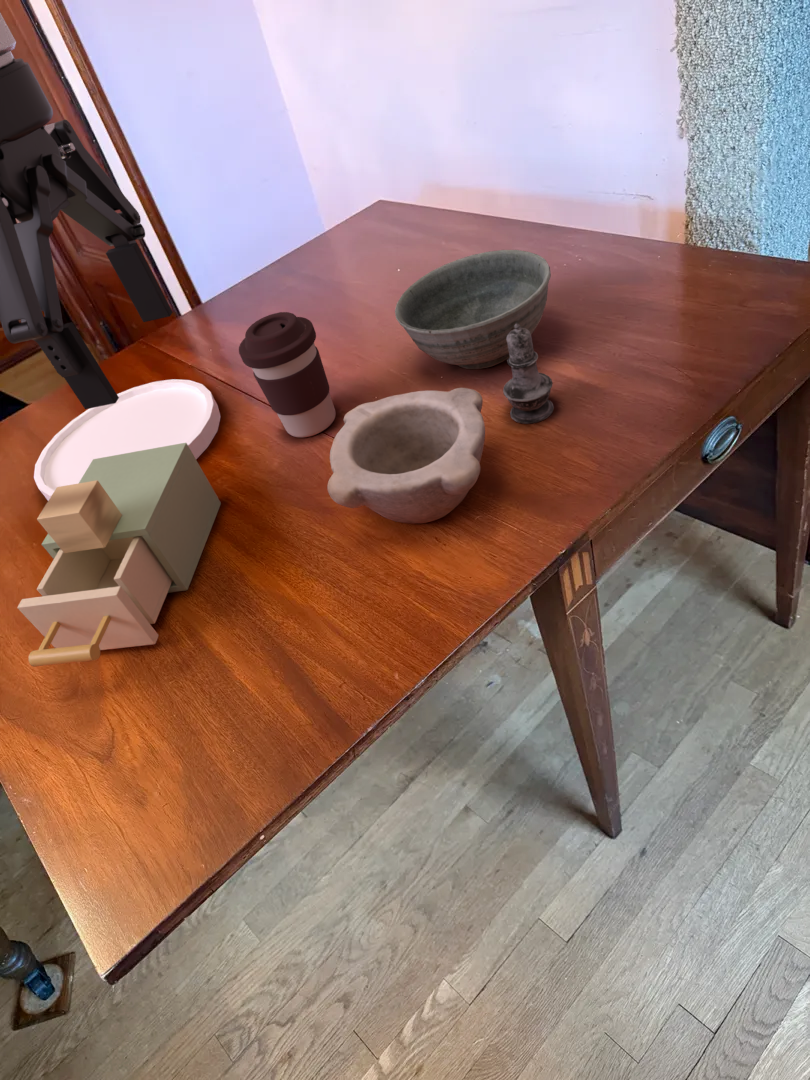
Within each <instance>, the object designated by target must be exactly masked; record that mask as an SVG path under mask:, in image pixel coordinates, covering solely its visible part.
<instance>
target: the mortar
mask: <svg viewBox="0 0 810 1080" xmlns="http://www.w3.org/2000/svg"><path fill="white" fill-rule="evenodd" d="M483 404H484V403H483V396H482V394H481V393H480V392H479V391H477V390H476V389H473V388H468V387H457V388H454V389H451V390H448V391H445V390H431V389H430V390H427V389H426V390H418V391H411V392H406V393H400V394H395V395H390V396H387V397H383V398H380V399H377V400H374V401H370V402H369V401H368V402H364V403H362V404H359V405H356V407H354V408H352V409H350V410H349V411H348V412H346V413H345V414H344V417H343V423H344V424H343V426H342V427H341V428H340V430H339V431H338V432H337V433H336V434H335V436H334V439H333V441H332V444H331V447H330V452H329V462H330V468H331V472H332V474H331V476H330V477H329V479H328V481H327V487H326V489H327V493H328V495H329V497H330V499H332V501H333V502H335V503H336V504H338V505H340V506H342V507H345V508H349V509H356V508H360V507H364V506H365V507H366V508H368V509H370V510H371V511H373V512H375V513H376V514H378V515H379V516H381V517H383V518H385V519H388V520H391V521H393V522H397V523H402V524H427V523H430V522H434V521H437V520H439V519H442V518H443V517H445V516H447V515H449V514H450V513H451V512H452V511H453V510H454V509H455V508H457V507H458V506H459V505H460V504H461V503H462V502H463V501H464V499H465V498H466V496H467V495H468V493H469V491H470V490H471V489H472V488H473V487H474V486H475V484H476V482H477V481H478V478H479V477H480V476H479V475H480V473H481V464H480V463H481V460H482V457H483V451H484V447H485V440H486V439H485V438H486V426H485V421H484V417H483V414H482V408H483Z"/></svg>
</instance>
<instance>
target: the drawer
mask: <svg viewBox="0 0 810 1080" xmlns="http://www.w3.org/2000/svg"><path fill="white" fill-rule="evenodd" d="M172 581H173V580H172V578H171V577H170V575H169V574H168V572H167V571H166V570H165V568H164V567H163V565H162V564H161V562H160V561H159V560H158V558H157V557H156V555H155V554H154V552H153V551H152V550H151V548H150V547H149V545H148V544H147V542H146V541H145V540H144V538H143V537H142V536H136V537H130V538H123V539H116V540H110V541H108V543H107V545H106V547H104V548H97V549H90V550H83V551H76V552H69V553H64V552H63V551H62V550H61V548H60V549H59V551H58V553H57V555H56V556H55V558H54V559H53V560H52V562H51V563H50V565H49V566H48V569H47V570H46V572H45V573H44V575H43V578H41V581H40V582H39V584H38V586H37V588H36V591H37V592H38V593H39V595H41V596H34V597H28V598H22V599H21V600H20V601H19V603H18V605H17V609H18V611H19V612H20V613H22V615H23V617H25V618H26V620H28V621H29V622H30V623H31V624H32V625H33V626H34V628H35V629H36V630H37V631H38V632H39V633H40V634H41V635H42V636H43V637H44V638H43V640H42V642H41V644H40V646H39V647H38V649H35V650H34V649H33V650H32V651H30V652H29V654H28V658H27V659H28V663H29V665H30V666H31V667H33V668H35V667H46V666H56V665H64V664H65V665H66V664H74V663H85V662H93V661H97V660H99V659H100V656H101V651H105V650H114V649H123V648H132V647H141V646H142V647H143V646H151V645H156V643H157V641H158V639H159V633H158V632H157V631H156V630H155V629H154V627H153V626H152V625H153V624H156V622H157V620H158V617H159V615H160V612H161V610H162V607H163V605H164V602H165V600H166V598H167V595H168V594H169V593H168V590H169V588H170V585H171V583H172ZM51 645H52V647H53V648H50V646H51Z"/></svg>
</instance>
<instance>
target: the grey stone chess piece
mask: <svg viewBox="0 0 810 1080" xmlns="http://www.w3.org/2000/svg"><path fill="white" fill-rule="evenodd" d="M519 327H520V325H518V324H517V323H516V324H515V326H514V328H515V329H513V330H512V331H510V332H509V334H508V335H507V345H508V350H509V355H510V357H509V358H508V359H506V362H507V365H508V366H509V367H510V369H511V373H512V378H510V379H509V380H508V381H507V382H505V384H504V386H503V389H502V392H503V395H504V397H505V398H506V399H507V401H508V402H509V403H510V405H511V406H512V407H511V409H510V412H509V414H510V418H511V420H512V421H514V422H515V423H518V424H522V425H531V424H532V425H533V424H537V423H540V422H542V421H545V420H546V419H547V418H549V417H550V416H551V415H552V413H554V409H555V405H554V403H553V401H551V400H550V399H549V398H550V395H551V391H552V388H553V384H554V383H553V380H552V377H550V376H549V375H548V374H546V373H543V372H539V369H538V365H537V362H538V361H537V360H538V359H539V355H538V353H537V352H536V351H535V350H534V344H533V339H532V334H531V333H530V331H529V330H527V329H525V328H519Z"/></svg>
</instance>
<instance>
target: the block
mask: <svg viewBox="0 0 810 1080" xmlns="http://www.w3.org/2000/svg"><path fill="white" fill-rule="evenodd" d="M121 516H122V514H121V513H120V511H119V510H118V508H117V507H116V505H115V504H114V503H113V501H112V500H111V498H110V497H109V495H108V494H107V493H106V491H105V490H104V488H103V487H102V486H101V484H100V483H99V481H98V480H96V481H90V482H84V483H78V484H73V485H67V486H61V487H57V488H56V490H55V491H54V493H53V494H52V496H51V497H50V499H49V501H48V500H47V502H46V503H45V505H44V506H43V508H42V510H41V511H40V513H39V515H38V516H37V518H36V520H37V522H38V523H39V524H40V525H41V527H42V528H43V529H44V530H45V532H46V533H47V534H49V535H50V536H51V537H52V539H53V540H54V541H55V542H56V544H57V545H58V546H59V547H60V548H61V550H62V551H63V552H64V553H69V552H76V551H83V550H90V549H97V548H104V547H106V545H107V543H108V541H109V539H110V537H111V535H112V533H113V531H114V529H115V528H116V526H117V524H118V522H119V520H120V518H121Z"/></svg>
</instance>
